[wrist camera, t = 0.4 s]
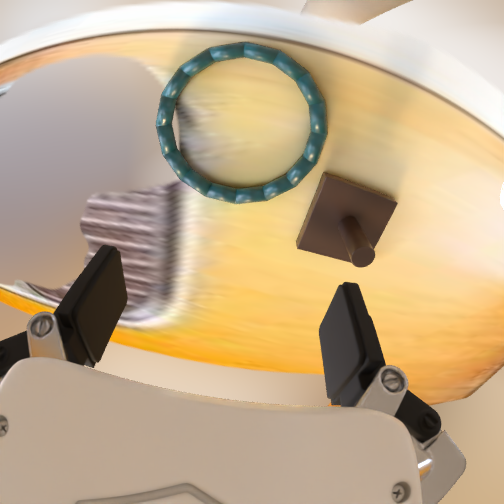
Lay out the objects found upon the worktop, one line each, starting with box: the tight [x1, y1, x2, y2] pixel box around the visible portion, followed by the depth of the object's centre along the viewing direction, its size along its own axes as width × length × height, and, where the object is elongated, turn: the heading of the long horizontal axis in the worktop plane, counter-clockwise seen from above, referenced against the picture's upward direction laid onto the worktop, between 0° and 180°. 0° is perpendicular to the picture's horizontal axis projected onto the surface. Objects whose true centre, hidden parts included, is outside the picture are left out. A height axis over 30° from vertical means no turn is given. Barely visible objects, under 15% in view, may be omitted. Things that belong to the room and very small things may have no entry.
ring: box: [156, 42, 328, 204], centre depth 25 cm, size 17×17×2 cm
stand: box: [296, 172, 397, 267], centre depth 28 cm, size 9×9×8 cm
